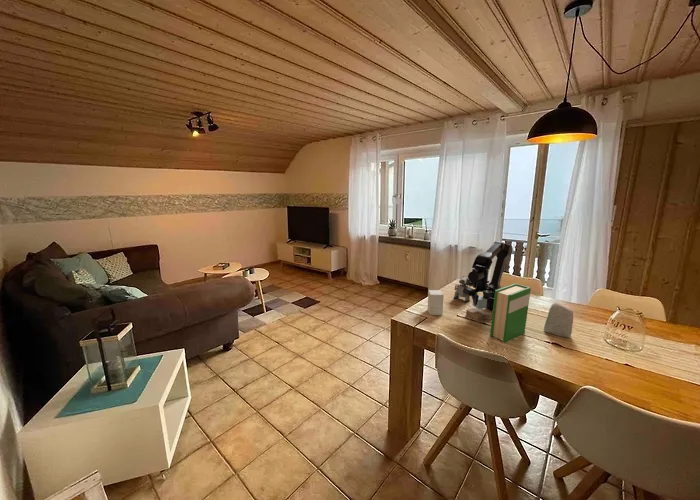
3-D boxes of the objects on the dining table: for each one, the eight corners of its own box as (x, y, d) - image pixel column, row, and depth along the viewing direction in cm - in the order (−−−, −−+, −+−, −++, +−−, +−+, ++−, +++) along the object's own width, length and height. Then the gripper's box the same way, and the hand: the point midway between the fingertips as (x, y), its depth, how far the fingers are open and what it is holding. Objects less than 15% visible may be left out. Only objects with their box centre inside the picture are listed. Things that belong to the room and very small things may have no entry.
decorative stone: (572, 336, 138) (577, 307, 135) (568, 340, 134) (573, 311, 131) (546, 327, 146) (550, 300, 143) (542, 331, 142) (546, 303, 139)
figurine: (474, 299, 183) (476, 277, 180) (464, 303, 177) (466, 281, 173) (462, 295, 191) (463, 273, 187) (451, 299, 184) (453, 277, 181)
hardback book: (504, 343, 132) (510, 295, 127) (489, 336, 138) (494, 290, 133) (524, 332, 141) (530, 287, 136) (509, 326, 148) (515, 283, 142)
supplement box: (439, 310, 168) (441, 290, 165) (442, 315, 161) (444, 294, 158) (427, 309, 169) (428, 289, 166) (429, 315, 162) (430, 294, 159)
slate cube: (480, 304, 160) (480, 296, 158) (486, 307, 155) (487, 299, 154) (472, 305, 158) (473, 296, 157) (478, 308, 154) (479, 300, 153)
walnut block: (478, 313, 164) (479, 307, 163) (490, 320, 155) (491, 313, 155) (465, 316, 161) (466, 309, 160) (477, 323, 153) (478, 316, 152)
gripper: (486, 272, 163) (484, 297, 166) (457, 275, 159) (455, 301, 162) (500, 278, 152) (497, 305, 156) (470, 281, 148) (468, 309, 151)
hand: (479, 304), depth 156 cm, fingers closed on slate cube, 5 cm apart
